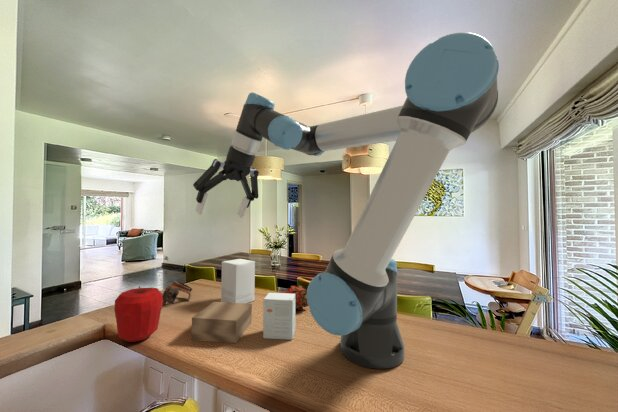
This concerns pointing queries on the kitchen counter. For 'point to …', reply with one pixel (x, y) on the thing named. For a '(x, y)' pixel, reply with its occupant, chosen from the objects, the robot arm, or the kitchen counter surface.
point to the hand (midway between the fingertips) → (220, 214)
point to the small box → (279, 316)
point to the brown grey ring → (175, 292)
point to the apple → (138, 313)
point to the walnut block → (221, 322)
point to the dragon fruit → (298, 296)
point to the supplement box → (238, 281)
